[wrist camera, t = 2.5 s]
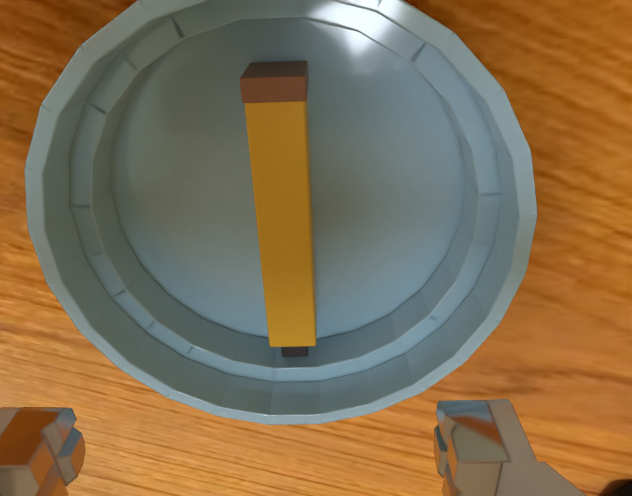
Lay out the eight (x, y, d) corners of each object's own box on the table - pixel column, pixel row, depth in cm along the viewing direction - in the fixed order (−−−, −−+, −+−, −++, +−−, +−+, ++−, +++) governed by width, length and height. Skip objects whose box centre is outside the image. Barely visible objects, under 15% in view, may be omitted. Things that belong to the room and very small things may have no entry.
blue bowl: (81, -94, 17) (7, -111, 13) (571, 34, 18) (639, 55, 14) (80, 319, 25) (35, 386, 21) (417, 380, 27) (434, 453, 23)
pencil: (249, 62, 18) (239, 78, 16) (307, 60, 18) (305, 75, 16) (275, 331, 25) (270, 370, 22) (318, 330, 24) (318, 370, 22)
